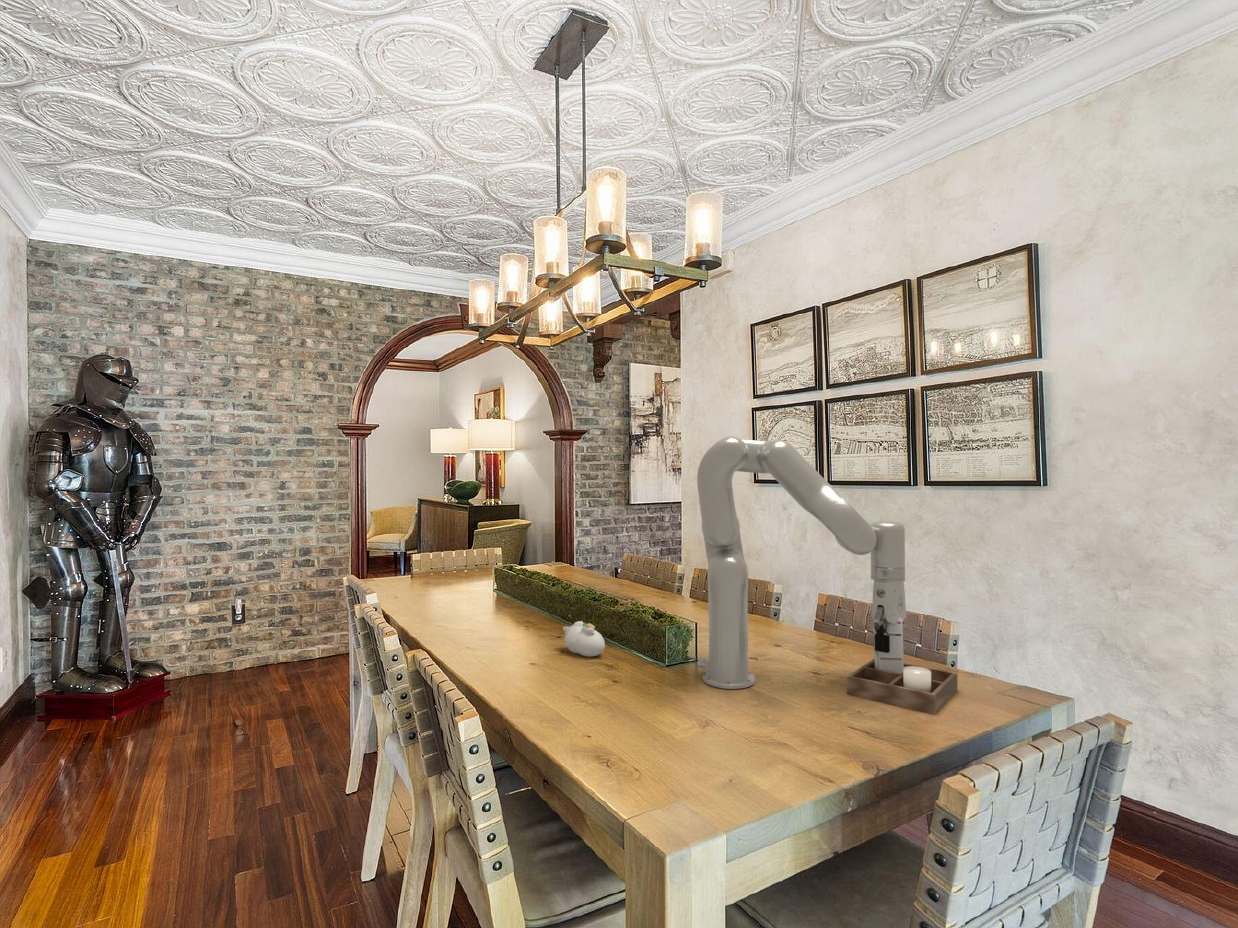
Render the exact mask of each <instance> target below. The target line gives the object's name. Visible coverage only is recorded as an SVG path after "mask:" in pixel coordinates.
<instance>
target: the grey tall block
mask: <svg viewBox="0 0 1238 928" xmlns="http://www.w3.org/2000/svg"><path fill="white" fill-rule="evenodd" d="M881 621H885V622H887V620H885V619H881ZM903 621H904V620H902V619H901V618H899V620H898V623H897V624H895V625H891V623H890V626H889V631H888V635H889V636H890V652H889V653H884V652H879V651H876V650H875V633H874V632H873V657H874V658H873V659H874V669H879V670H884V671H889V672H894V673H899V674H902V673H903V668H904V663H905V661H904V660H905V659H904V658H905V657H904V656H905V655H904V628H903V625H904V623H903ZM883 627H884V629H885V625H883ZM874 630H875V628H874V627H873V631H874Z"/></svg>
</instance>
